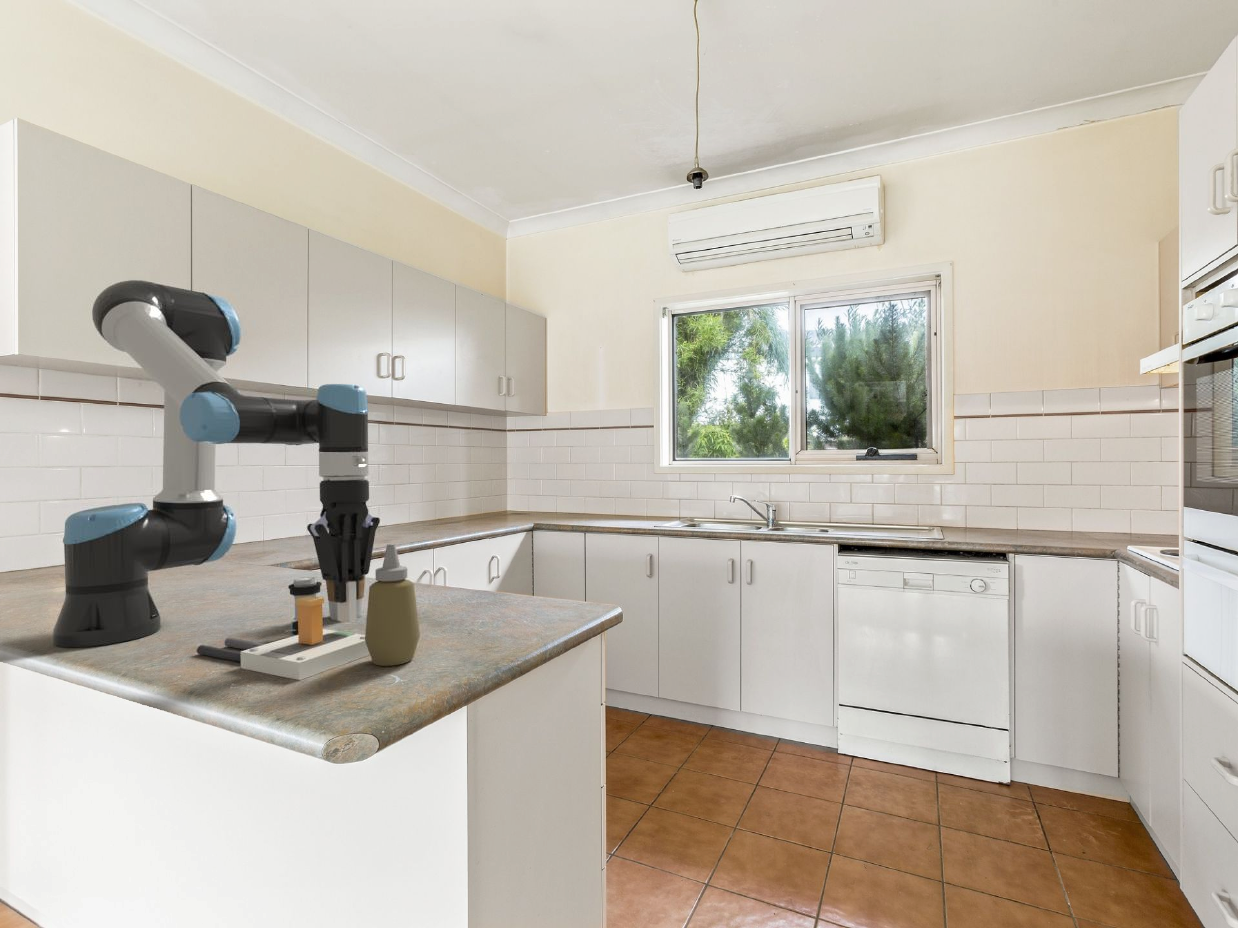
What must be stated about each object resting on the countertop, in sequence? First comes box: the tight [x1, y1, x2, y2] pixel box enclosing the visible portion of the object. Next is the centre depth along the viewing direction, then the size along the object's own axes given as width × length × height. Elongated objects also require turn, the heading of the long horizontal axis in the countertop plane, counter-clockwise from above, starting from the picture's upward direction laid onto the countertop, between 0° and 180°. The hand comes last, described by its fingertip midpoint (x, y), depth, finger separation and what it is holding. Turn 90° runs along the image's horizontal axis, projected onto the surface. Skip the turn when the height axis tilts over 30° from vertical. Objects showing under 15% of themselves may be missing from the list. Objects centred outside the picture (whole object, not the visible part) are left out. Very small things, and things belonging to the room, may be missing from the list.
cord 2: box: [224, 637, 266, 651], centre depth 105 cm, size 13×1×1 cm, turn 64°
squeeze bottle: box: [364, 543, 421, 667], centre depth 98 cm, size 8×8×18 cm
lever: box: [296, 596, 325, 645], centre depth 99 cm, size 3×2×7 cm
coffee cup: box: [325, 574, 366, 621], centre depth 127 cm, size 8×8×15 cm
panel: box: [240, 628, 370, 681], centre depth 99 cm, size 13×14×3 cm
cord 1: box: [196, 644, 241, 663], centre depth 101 cm, size 13×1×1 cm, turn 64°
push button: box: [283, 576, 323, 639], centre depth 113 cm, size 7×5×10 cm
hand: (347, 620), depth 106 cm, fingers closed
